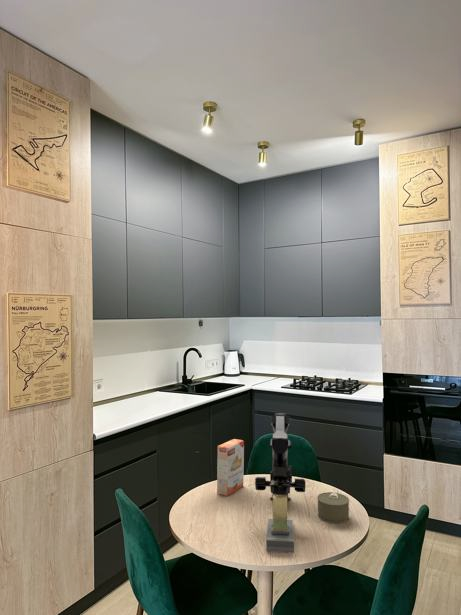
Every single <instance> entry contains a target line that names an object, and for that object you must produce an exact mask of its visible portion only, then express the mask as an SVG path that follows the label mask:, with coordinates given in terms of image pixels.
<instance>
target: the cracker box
mask: <svg viewBox="0 0 461 615" xmlns="http://www.w3.org/2000/svg"><path fill="white" fill-rule="evenodd" d="M244 455H245V441H244V440H242V439H236V438H233V439H230V440H228V441H226V442H224V443H222V444H219V445H217V457H216V458H217V460H216V462H217V463H216V464H217V468H216V470H217V471H216V472H217V475H216V476H217V477H216V479H217V482H216V493H217V494H219V495H222V496H225V497H228V496H229V495H230V496H231V495H232V494H233V493H234V492H236V491H238V490H240V488H243V487H244V478H245V477H244V471H245V470H244V469H245V468H244V466H245V465H244V463H245V461H244V460H245V456H244Z"/></svg>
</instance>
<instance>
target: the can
mask: <svg viewBox="0 0 461 615" xmlns="http://www.w3.org/2000/svg"><path fill="white" fill-rule="evenodd" d="M316 498H317V516H318V518H319V519H320V520H322V521H324V522H326V523H332V524H342V523H345V522H347V521H349V518H350V517H349V516H350V515H349V514H350V511H349V509H350V508H349V507H350V506H349V505H350V498H349V497H348V496H346V495H345V494H342V493H339V492H330V491H329V492H328V491H327V492H322V493H319V494H318V495H317V497H316Z"/></svg>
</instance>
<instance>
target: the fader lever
mask: <svg viewBox="0 0 461 615" xmlns="http://www.w3.org/2000/svg"><path fill="white" fill-rule="evenodd" d="M272 519H273V524H272V534H284V535H289V525H287V520H288V501H287V495H279V494H273V500H272Z"/></svg>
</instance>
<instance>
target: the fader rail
mask: <svg viewBox="0 0 461 615" xmlns="http://www.w3.org/2000/svg"><path fill="white" fill-rule="evenodd" d="M293 523H294V522H293V519H287V525H289V535H284V534H272V524H273V518H268V519H267V531H266V532H267V533H266V539H265V541H266V542H265V543H266V545H265V546H266V552H274V553H275V552H278V553H290V554H291V553H295V539H294V524H293Z"/></svg>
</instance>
